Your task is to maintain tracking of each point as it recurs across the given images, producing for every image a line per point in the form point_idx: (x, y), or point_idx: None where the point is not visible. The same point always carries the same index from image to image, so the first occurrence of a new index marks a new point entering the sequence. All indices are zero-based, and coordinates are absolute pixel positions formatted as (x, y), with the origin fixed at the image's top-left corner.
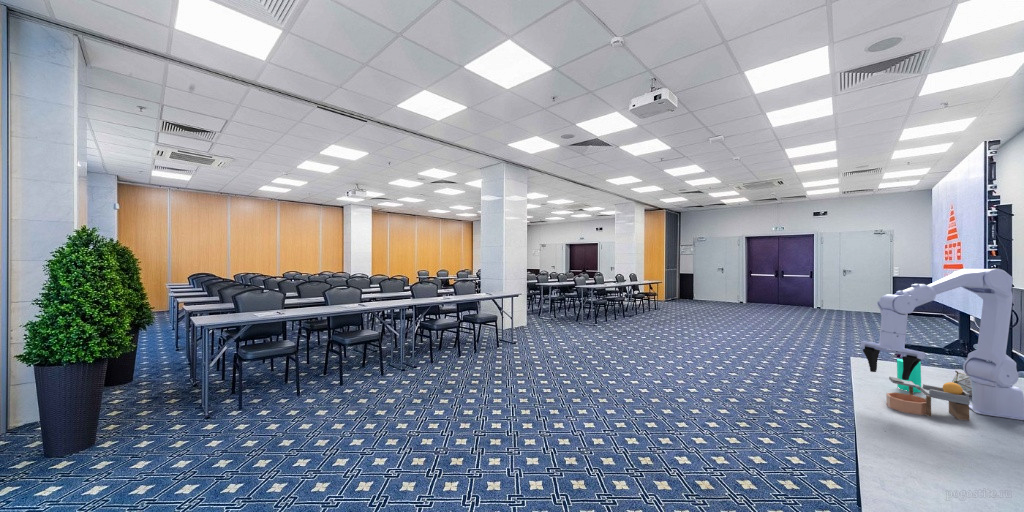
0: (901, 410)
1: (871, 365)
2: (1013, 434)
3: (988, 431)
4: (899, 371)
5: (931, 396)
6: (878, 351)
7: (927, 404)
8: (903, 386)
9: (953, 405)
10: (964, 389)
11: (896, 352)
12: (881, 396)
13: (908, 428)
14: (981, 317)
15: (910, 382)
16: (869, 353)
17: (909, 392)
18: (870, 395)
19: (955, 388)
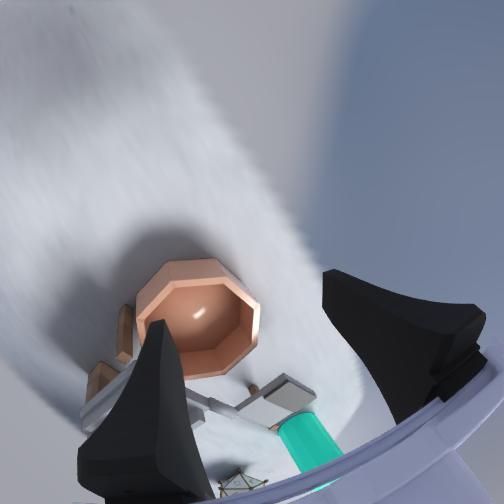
0: (176, 262)
1: (355, 286)
2: (13, 369)
3: (20, 338)
4: (330, 445)
5: (128, 368)
6: (403, 416)
7: (122, 328)
8: (304, 421)
9: None
10: (236, 482)
11: (286, 491)
12: (296, 335)
13: (51, 105)
14: None
15: (264, 420)
16: (436, 321)
17: None
18: (313, 312)
19: None
